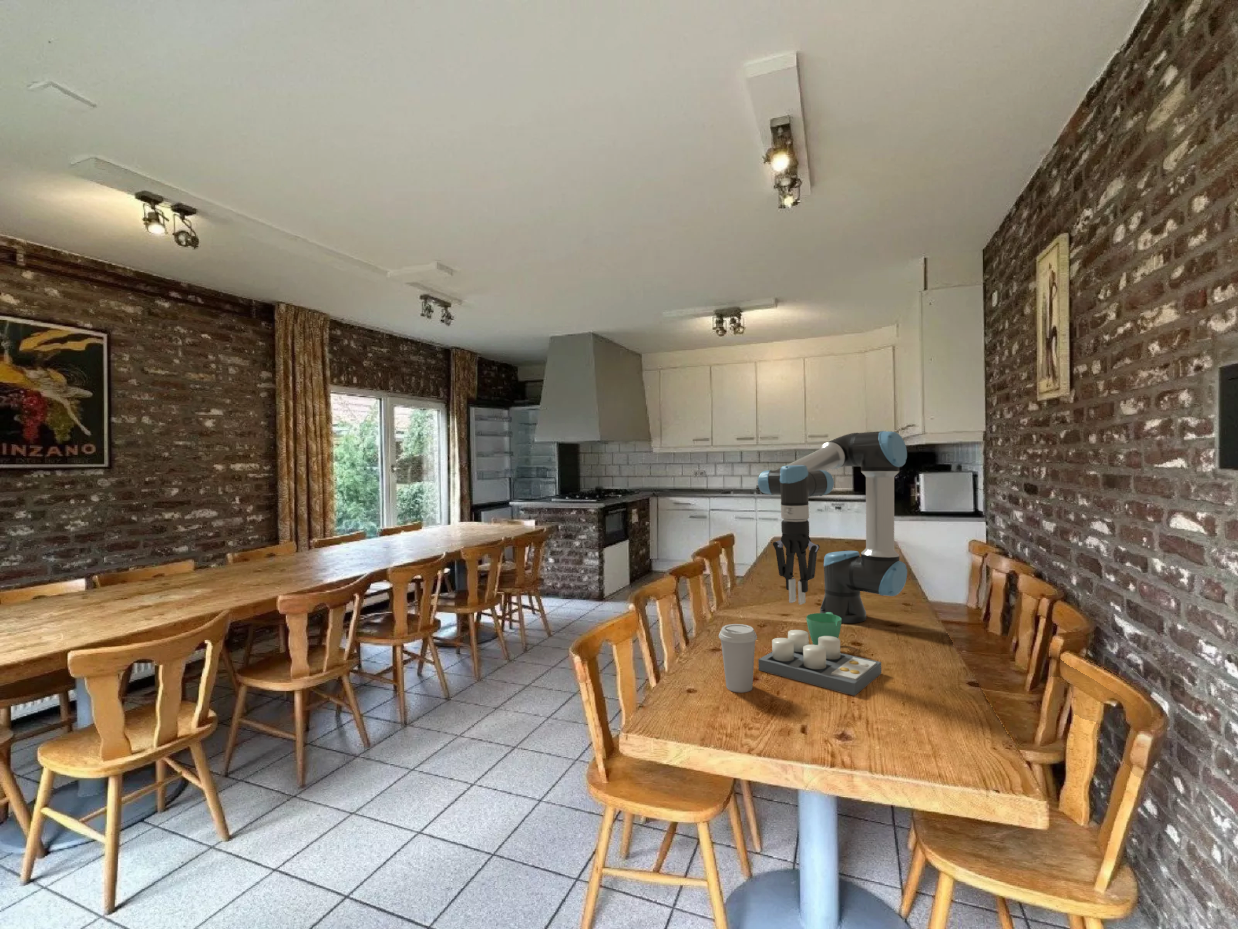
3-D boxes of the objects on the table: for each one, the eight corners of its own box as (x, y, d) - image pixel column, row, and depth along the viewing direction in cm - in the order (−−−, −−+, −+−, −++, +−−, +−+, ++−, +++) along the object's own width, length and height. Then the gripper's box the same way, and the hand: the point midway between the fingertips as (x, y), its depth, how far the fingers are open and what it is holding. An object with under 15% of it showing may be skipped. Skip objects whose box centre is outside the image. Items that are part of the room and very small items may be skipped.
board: (790, 652, 169) (789, 639, 169) (881, 673, 151) (881, 659, 151) (758, 670, 156) (758, 657, 156) (854, 695, 138) (854, 681, 138)
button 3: (809, 659, 153) (809, 643, 153) (829, 664, 150) (829, 647, 149) (799, 665, 149) (799, 648, 149) (820, 671, 146) (820, 653, 145)
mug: (839, 659, 162) (838, 624, 162) (803, 654, 167) (802, 620, 167) (847, 643, 174) (846, 611, 174) (814, 639, 179) (813, 607, 179)
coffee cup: (713, 684, 148) (711, 626, 147) (743, 677, 152) (742, 621, 151) (734, 698, 139) (732, 636, 139) (766, 690, 143) (764, 630, 142)
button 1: (778, 652, 160) (778, 636, 160) (797, 656, 156) (797, 640, 156) (768, 658, 156) (768, 641, 156) (787, 662, 152) (787, 646, 152)
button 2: (794, 643, 166) (793, 628, 166) (812, 648, 162) (812, 632, 162) (784, 649, 162) (784, 633, 162) (803, 653, 158) (802, 637, 158)
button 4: (824, 650, 160) (823, 634, 160) (843, 655, 156) (843, 638, 156) (815, 656, 156) (814, 639, 156) (835, 660, 152) (834, 644, 152)
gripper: (764, 519, 164) (766, 601, 165) (814, 522, 153) (817, 610, 154) (776, 516, 169) (779, 595, 170) (826, 519, 159) (829, 604, 159)
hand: (797, 602), depth 162 cm, fingers open, 2 cm apart
